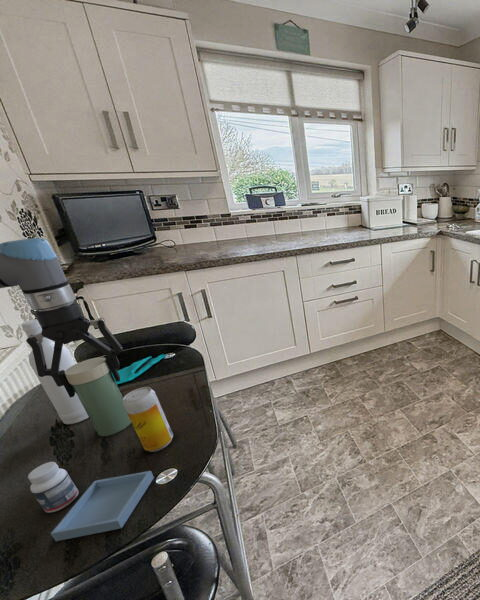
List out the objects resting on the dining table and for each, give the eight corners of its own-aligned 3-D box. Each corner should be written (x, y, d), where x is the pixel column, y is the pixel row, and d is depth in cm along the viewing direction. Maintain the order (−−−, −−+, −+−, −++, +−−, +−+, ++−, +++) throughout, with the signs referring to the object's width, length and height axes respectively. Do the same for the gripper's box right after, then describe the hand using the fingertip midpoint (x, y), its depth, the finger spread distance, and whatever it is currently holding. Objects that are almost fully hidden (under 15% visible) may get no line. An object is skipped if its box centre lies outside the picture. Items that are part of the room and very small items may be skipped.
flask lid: (61, 387, 79) (55, 376, 78) (85, 369, 86) (80, 359, 85) (96, 382, 80) (91, 371, 79) (117, 365, 87) (113, 355, 86)
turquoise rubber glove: (74, 401, 101) (71, 395, 100) (76, 383, 111) (73, 378, 110) (172, 366, 117) (169, 360, 116) (166, 353, 127) (164, 348, 126)
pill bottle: (41, 505, 67) (20, 473, 64) (75, 485, 71) (56, 455, 68) (48, 518, 64) (25, 485, 61) (82, 497, 68) (63, 465, 65)
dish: (55, 541, 60) (50, 533, 59) (98, 487, 70) (94, 480, 69) (121, 528, 61) (117, 520, 60) (154, 477, 71) (150, 470, 71)
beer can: (144, 443, 81) (120, 394, 76) (172, 430, 85) (151, 382, 80) (145, 457, 77) (121, 406, 72) (175, 443, 80) (154, 393, 75)
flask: (90, 438, 85) (57, 378, 78) (110, 418, 92) (81, 362, 85) (122, 433, 86) (92, 373, 79) (139, 414, 93) (113, 357, 86)
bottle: (56, 422, 92) (0, 327, 81) (87, 404, 99) (40, 314, 88) (74, 426, 90) (19, 329, 79) (105, 407, 97) (59, 316, 86)
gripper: (-18, 325, 67) (35, 413, 75) (112, 296, 79) (146, 375, 87) (-7, 315, 73) (42, 398, 81) (113, 290, 85) (145, 364, 93)
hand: (96, 386), depth 84 cm, fingers open, 8 cm apart
